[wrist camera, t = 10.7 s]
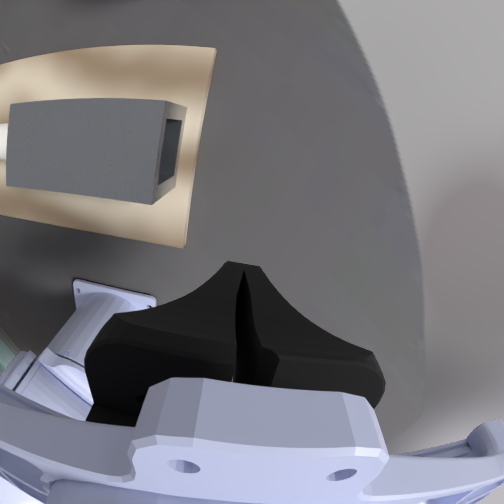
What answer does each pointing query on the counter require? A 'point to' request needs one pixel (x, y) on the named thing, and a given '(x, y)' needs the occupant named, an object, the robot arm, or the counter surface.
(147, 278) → the counter surface
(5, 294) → the counter surface
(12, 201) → the base board
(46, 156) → the sleeve
